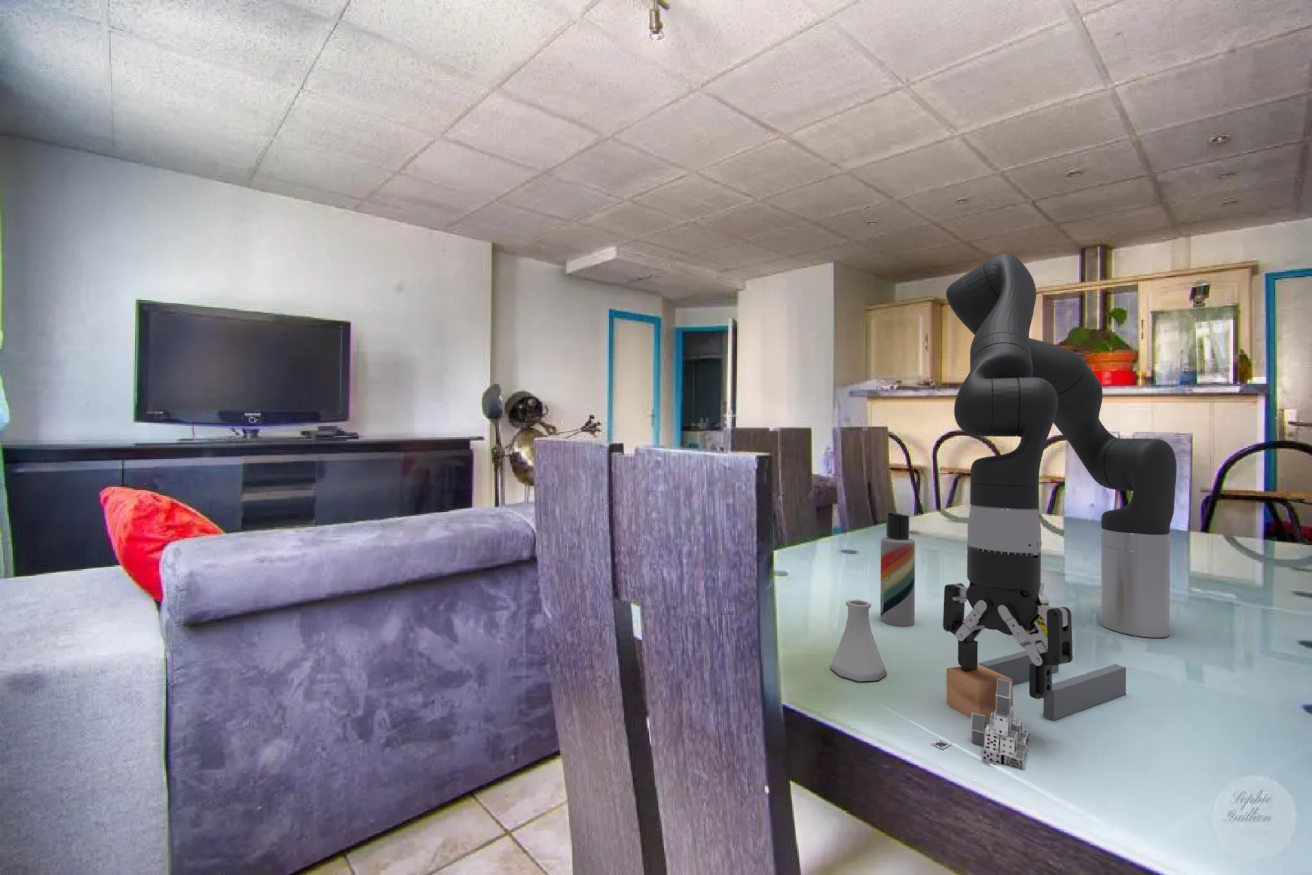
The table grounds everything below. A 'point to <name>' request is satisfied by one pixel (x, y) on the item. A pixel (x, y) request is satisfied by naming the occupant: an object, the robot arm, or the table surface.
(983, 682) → the terracotta block
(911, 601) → the lotion bottle
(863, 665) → the flask
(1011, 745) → the house of cards
